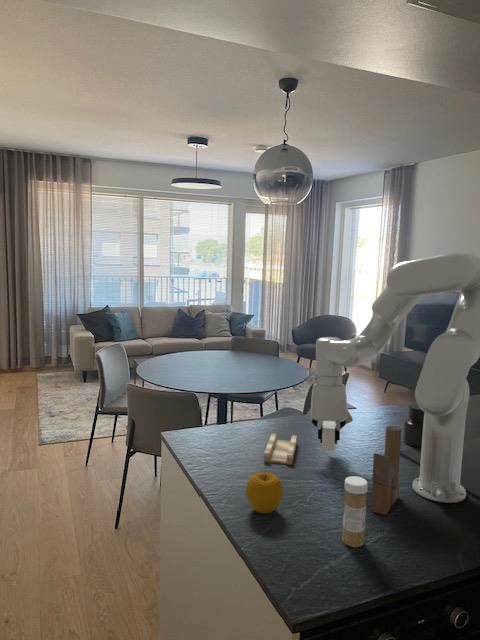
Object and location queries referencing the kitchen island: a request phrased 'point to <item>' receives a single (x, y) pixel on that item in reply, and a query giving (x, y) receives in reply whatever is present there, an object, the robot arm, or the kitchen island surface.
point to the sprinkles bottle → (354, 511)
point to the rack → (280, 450)
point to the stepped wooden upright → (386, 473)
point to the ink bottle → (414, 426)
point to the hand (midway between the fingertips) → (328, 441)
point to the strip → (328, 435)
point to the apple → (264, 492)
